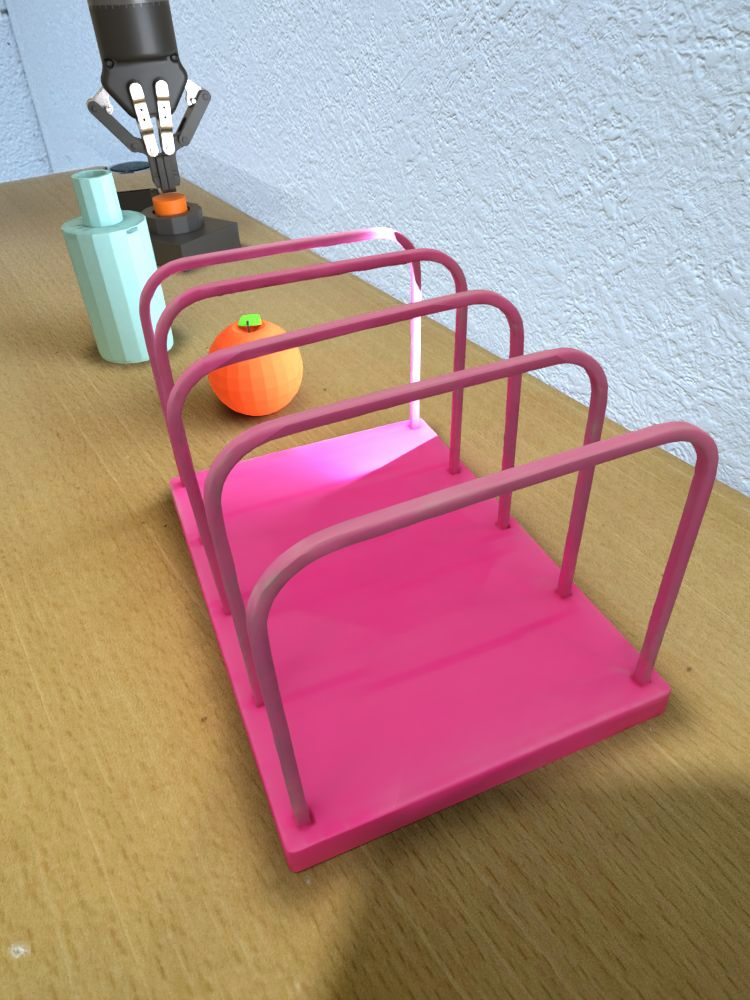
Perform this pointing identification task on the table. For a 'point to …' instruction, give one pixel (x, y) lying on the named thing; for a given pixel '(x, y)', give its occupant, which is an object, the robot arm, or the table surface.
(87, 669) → the table surface
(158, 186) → the robot arm
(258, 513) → the file sorter
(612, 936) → the table surface
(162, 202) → the button
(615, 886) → the table surface
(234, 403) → the clementine
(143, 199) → the phone
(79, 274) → the mint green bottle
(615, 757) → the table surface
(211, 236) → the dock
